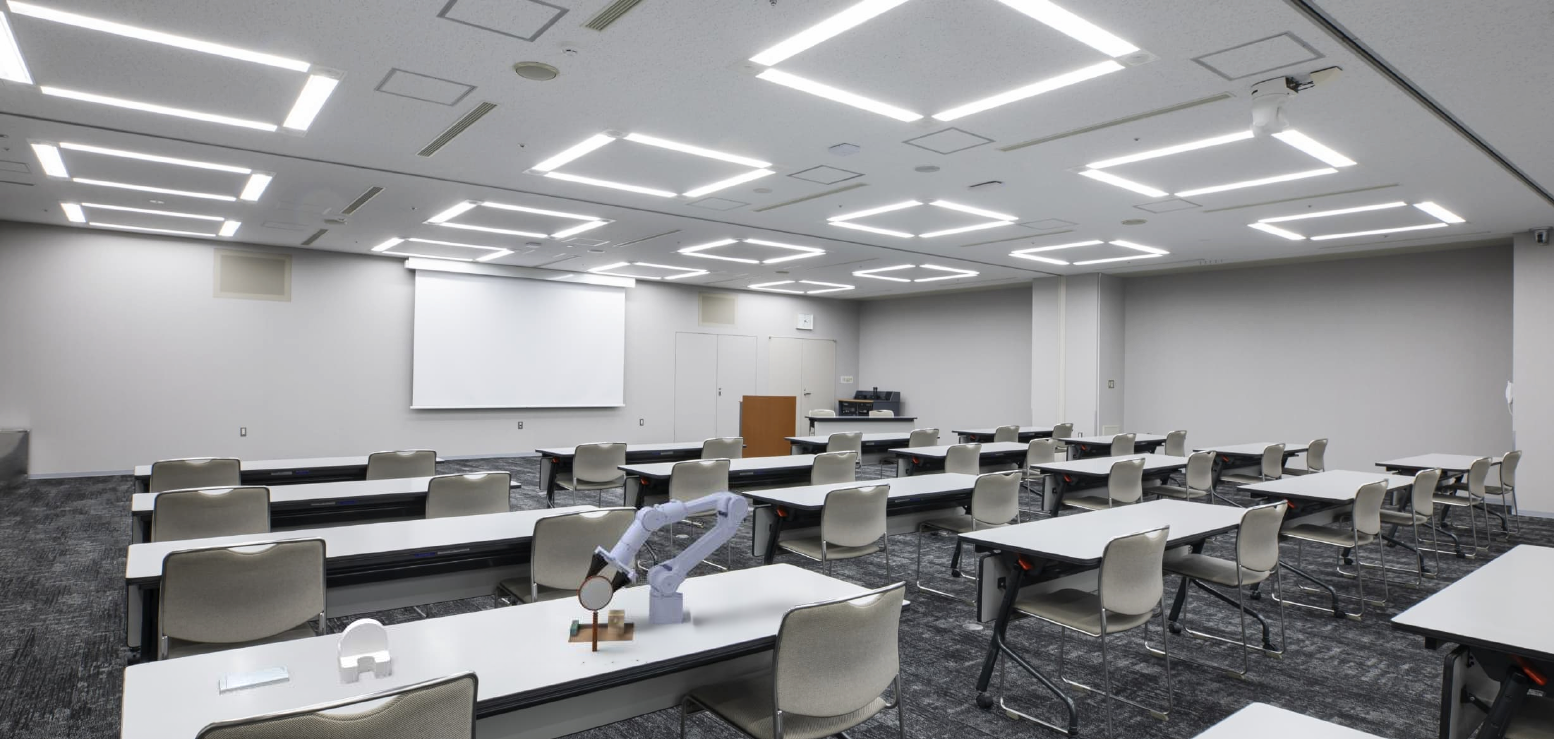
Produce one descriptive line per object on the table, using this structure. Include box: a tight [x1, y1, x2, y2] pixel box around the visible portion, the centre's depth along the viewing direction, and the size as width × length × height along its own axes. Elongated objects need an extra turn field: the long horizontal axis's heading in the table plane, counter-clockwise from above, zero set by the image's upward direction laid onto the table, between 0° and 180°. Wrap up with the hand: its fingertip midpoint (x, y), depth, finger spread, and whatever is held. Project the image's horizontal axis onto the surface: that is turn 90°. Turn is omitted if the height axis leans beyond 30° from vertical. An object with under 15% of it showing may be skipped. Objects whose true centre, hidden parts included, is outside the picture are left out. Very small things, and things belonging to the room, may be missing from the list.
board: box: [567, 619, 635, 643], centre depth 200 cm, size 16×11×4 cm
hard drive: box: [218, 665, 290, 694], centre depth 169 cm, size 2×8×12 cm
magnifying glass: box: [577, 574, 614, 653], centre depth 188 cm, size 9×2×20 cm, turn 117°
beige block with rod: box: [607, 608, 626, 635], centre depth 202 cm, size 4×10×5 cm, turn 9°
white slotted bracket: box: [337, 618, 391, 683], centre depth 179 cm, size 10×18×11 cm, turn 32°
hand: (596, 589), depth 203 cm, fingers open, 7 cm apart
